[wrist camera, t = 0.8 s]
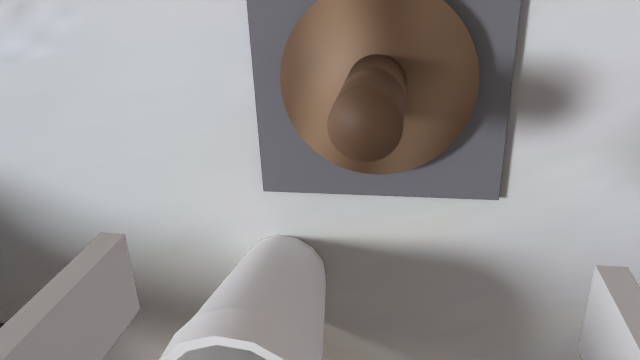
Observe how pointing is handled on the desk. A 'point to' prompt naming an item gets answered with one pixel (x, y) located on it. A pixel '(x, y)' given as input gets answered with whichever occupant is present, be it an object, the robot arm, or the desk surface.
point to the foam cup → (261, 309)
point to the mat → (424, 181)
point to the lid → (379, 81)
